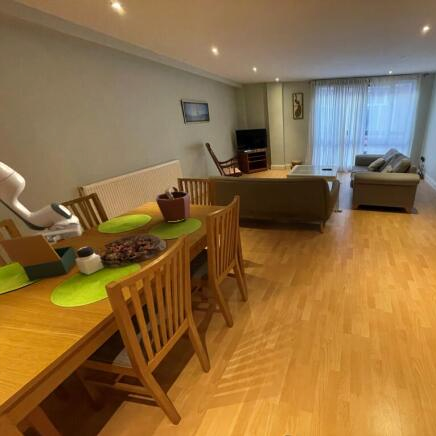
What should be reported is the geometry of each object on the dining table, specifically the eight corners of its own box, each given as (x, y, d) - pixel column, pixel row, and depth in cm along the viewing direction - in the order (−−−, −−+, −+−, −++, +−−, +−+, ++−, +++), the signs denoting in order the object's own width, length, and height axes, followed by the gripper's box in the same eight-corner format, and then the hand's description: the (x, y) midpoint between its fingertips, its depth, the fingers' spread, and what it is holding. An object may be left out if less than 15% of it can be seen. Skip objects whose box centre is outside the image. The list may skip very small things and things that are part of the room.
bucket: (183, 225, 170) (177, 191, 161) (153, 225, 171) (144, 191, 161) (197, 213, 193) (192, 183, 183) (170, 213, 193) (163, 182, 184)
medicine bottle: (104, 267, 121) (96, 246, 117) (88, 275, 115) (79, 253, 111) (95, 264, 124) (88, 244, 119) (79, 271, 118) (71, 250, 113)
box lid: (-2, 240, 97) (-3, 241, 97) (42, 233, 103) (41, 235, 102) (22, 265, 108) (21, 266, 108) (60, 258, 113) (60, 259, 113)
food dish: (89, 277, 115) (83, 264, 112) (99, 249, 141) (94, 238, 138) (169, 256, 131) (165, 243, 128) (164, 234, 157) (161, 223, 154)
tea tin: (44, 264, 124) (38, 251, 121) (77, 258, 129) (72, 245, 126) (29, 281, 111) (22, 267, 108) (66, 273, 116) (61, 260, 113)
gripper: (34, 228, 127) (20, 239, 115) (82, 222, 135) (73, 231, 123) (39, 239, 129) (25, 250, 117) (85, 232, 137) (77, 242, 125)
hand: (50, 240), depth 120 cm, fingers closed
